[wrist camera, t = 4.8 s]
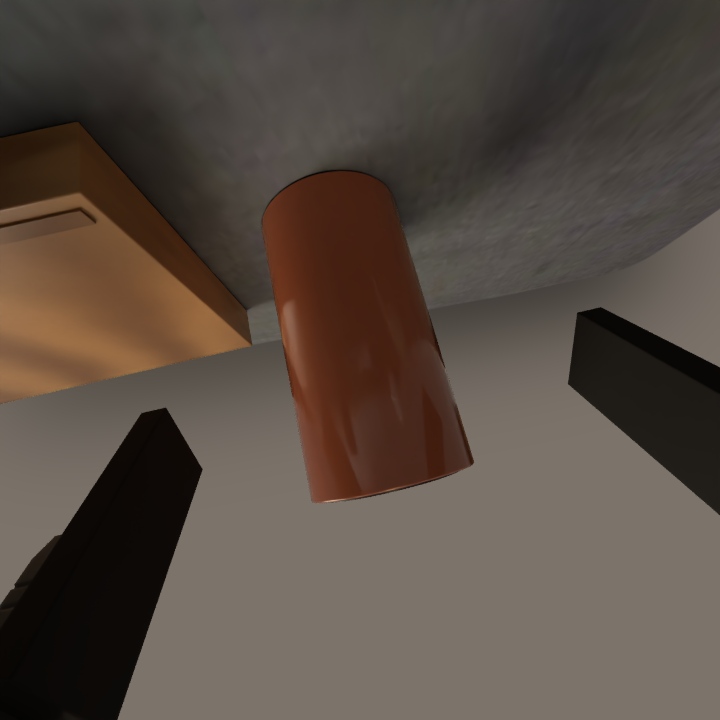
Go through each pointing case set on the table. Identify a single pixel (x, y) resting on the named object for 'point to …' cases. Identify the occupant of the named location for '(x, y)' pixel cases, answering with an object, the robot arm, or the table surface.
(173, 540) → the robot arm
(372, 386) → the pen cup
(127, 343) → the oak board
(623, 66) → the table surface
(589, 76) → the table surface
